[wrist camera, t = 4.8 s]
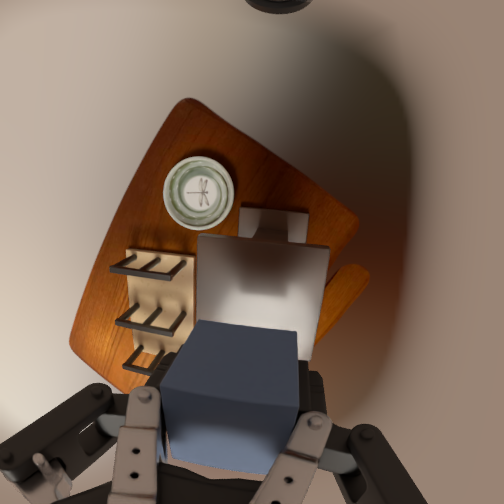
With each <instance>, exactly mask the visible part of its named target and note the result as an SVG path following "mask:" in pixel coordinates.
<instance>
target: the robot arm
mask: <svg viewBox="0 0 504 504" xmlns="http://www.w3.org/2000/svg"><path fill="white" fill-rule="evenodd" d="M265 1H268V2H276V3H280V2H289V1H292V0H265ZM183 345H184V344H182V345H181V346H180V348H179V350H178V351H177V353H176V352H169V353H168V354H166V355H165V356H163V358H162V359H161V361H160V362H159V364H158V365H157V367H156V369H155V370H154V371H153V373H152V374H151V376H150V377H149V379H148V380H147V382H146V384H145V385H144V386H139V387H136V388H134V389H133V390H132V391H131V392H130V394H113V393H112V390H111V388H110V387H109V386H108V385H106V384H103V383H93V384H91V385H88V386H87V387H85V388H84V389H82V390H81V391H79V392H78V393H76V394H75V395H73V396H72V397H70V398H69V399H67V400H66V401H65V402H63V403H61V404H60V405H58V406H57V407H55V408H54V409H53V410H51V411H50V412H48V413H47V414H45V415H44V416H42V417H41V418H39V419H38V420H36V421H35V422H33V423H32V424H30V425H28V426H27V427H26V428H24V429H23V430H21V431H19V432H18V433H17V434H15V435H13V436H12V437H10V438H9V439H7V440H6V441H4V442H3V443H1V444H0V471H1V472H2V473H3V475H4V477H5V478H6V479H7V480H8V481H9V482H10V483H11V485H12V486H13V487H14V488H15V489H16V490H17V491H18V492H19V493H21V494H22V495H23V496H24V497H25V498H26V499H27V500H28V501H29V502H30V503H31V504H302V502H303V500H304V498H305V495H306V493H307V491H308V488H309V486H310V484H311V481H312V479H313V477H314V474H315V472H316V469H317V468H318V469H322V470H326V471H330V472H333V475H334V477H335V479H336V482H337V484H338V486H339V488H340V490H341V493H342V495H343V497H344V499H345V502H346V504H428V503H427V502H426V500H425V499H424V498H423V496H422V494H421V492H420V491H419V489H418V488H417V486H416V485H415V483H414V482H413V480H412V479H411V477H410V476H409V474H408V472H407V471H406V469H405V468H404V466H403V465H402V463H401V462H400V460H399V459H398V457H397V456H396V454H395V452H394V451H393V449H392V448H391V446H390V445H389V443H388V442H387V440H386V439H385V437H384V436H383V435H382V433H381V431H380V430H379V429H378V428H377V427H375V426H373V425H370V424H360V425H357V426H355V427H354V428H353V429H352V430H350V429H346V428H342V427H339V426H337V425H335V424H333V423H332V421H331V419H330V418H329V417H328V416H327V410H326V402H325V394H324V387H323V379H322V377H321V376H320V374H319V373H318V372H317V371H309V369H308V360H298V371H299V410H298V413H297V417H296V421H295V425H294V429H293V432H292V434H291V436H290V438H289V440H288V442H287V444H286V446H285V447H284V449H282V450H281V451H280V452H279V454H278V456H277V458H276V460H275V461H274V463H273V465H272V467H271V468H270V470H269V472H268V474H267V475H266V477H265V479H264V480H263V481H255V480H246V479H239V478H238V479H208V478H206V477H204V476H201V475H199V474H197V473H194V472H192V471H190V470H188V469H185V468H181V467H178V466H173V465H170V464H168V458H167V429H166V423H165V417H164V411H163V405H162V398H161V391H160V383H161V382H162V380H163V378H164V377H165V375H166V373H167V372H168V370H169V368H170V366H171V365H172V363H173V361H174V360H175V358H176V356H177V355H178V353H179V351H180V350H181V348H182V346H183ZM92 422H93V423H92ZM91 423H92V424H91ZM89 424H91V425H90V426H89V427H88V428H86V427H87V426H88V425H89ZM84 428H86V429H85V430H84V431H82V430H83V429H84ZM81 431H82V432H81ZM80 432H81V433H80ZM79 433H80V434H79ZM116 442H117V447H116V454H115V462H114V471H113V479H112V481H110V482H107V483H105V484H102V485H100V486H97V487H94V488H92V489H89V490H86V491H84V492H81V493H78V494H76V495H72V496H70V491H71V489H72V480H74V479H75V478H76V477H77V476H78V475H80V474H81V473H82V472H83V471H84V470H85V469H87V468H88V467H89V466H90V465H91V464H92V463H94V462H95V461H96V460H97V459H98V458H99V457H101V456H102V455H103V454H104V453H105V452H106V451H107V450H109V448H111V447H112V446H113V445H114V444H115V443H116ZM68 496H69V497H68Z"/></svg>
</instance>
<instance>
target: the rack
mask: <svg viewBox="0 0 504 504" xmlns="http://www.w3.org/2000/svg"><path fill="white" fill-rule="evenodd" d="M195 264H196V256H192V255H183V254H174V253H166V252H157V251H148V250H139V249H131V248H129V249H127V250H126V258H125V259H123V260H122V261H120V262H118V263H116V264H115V265H112V266H110V267H109V268H110V272H111V273H117V274H124V275H127V279H128V293H129V305H130V308H129V309H128V310H127V311H126V312H125V313H124V314H123V315H121V316H120V317H119V318H117V319H116V320H115V325H117V326H122V327H126V328H130V329H132V333H133V340H134V348H135V351H134V352H133V353H132V355H131V356H130V357H129V358H128V360H127V361H126V362H125V363H123V365H122V367H123V369H125V370H129V371H133V372H136V373H140V374H144V375H148V376H151V374H152V373H153V371H154V370H155V368H156V367H157V365H158V364H159V362H160V361H161V359H162V358H163V356H165V355H166V354H168V353H169V352H176V353H177V351H178V350H179V348H180V346H181V345H182V344H184V343H185V341H186V340H187V338H188V336H189V335H190V333H191V331H192V330H193V328H194V326H195ZM125 266H127V267H125ZM130 316H131V321H128V320H127V319H128V318H129V317H130ZM141 352H146V353H150V354H154V355H157V356H156V357H155V358H154V360H153V361H152V363H151V364H150V366H149V367H148V368H143V367H139V366H136V365H132V363H133V362H134V361H135V360H136V358H137V357H138V356H139V354H140V353H141Z"/></svg>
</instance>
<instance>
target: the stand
mask: <svg viewBox="0 0 504 504" xmlns="http://www.w3.org/2000/svg"><path fill="white" fill-rule="evenodd" d="M308 221H309V213H305V212H296V211H286V210H276V209H265V208H254V207H243V206H241V207H240V211H239V225H238V237H236V236H226V235H215V234H205V233H201V234H200V235H198V239H197V279H196V323H197V321H198V320H199V319H201V320H208V321H214V322H221V323H229V324H236V325H244V326H252V327H261V328H270V329H279V330H289V331H296V332H297V342H298V360H308V361H311V356H312V351H313V347H314V342H315V337H316V332H317V327H318V321H319V316H320V311H321V305H322V300H323V294H324V288H325V282H326V276H327V269H328V263H329V256H330V248H329V246H324V245H315V244H306V239H307V230H308Z"/></svg>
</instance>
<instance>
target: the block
mask: <svg viewBox="0 0 504 504" xmlns="http://www.w3.org/2000/svg"><path fill="white" fill-rule="evenodd" d="M160 391H161V398H162V405H163V411H164V417H165V423H166V429H167V434H168V439H169V444H170V449H171V454H172V458H174V459H178V460H182V461H186V462H190V463H195V464H200V465H204V466H210V467H215V468H220V469H227V470H232V471H239V472H247V473H255V474H266V475H267V474H268V472H269V470H270V468H271V467H272V465H273V463H274V461H275V460H276V458H277V456H278V454H279V452H280V451H281V450H282V449H284V447H285V446H286V444H287V442H288V440H289V438H290V436H291V434H292V432H293V429H294V425H295V421H296V417H297V413H298V410H299V371H298V342H297V332H296V331H289V330H279V329H270V328H261V327H252V326H244V325H236V324H229V323H221V322H214V321H208V320H201V319H199V320H198V321H197V323H196V325H195V326H194V328H193V330H192V331H191V333H190V335H189V336H188V338H187V340H186V341H185V343H184V345H183V346H182V348H181V350H180V351H179V353H178V355H177V356H176V358H175V360H174V361H173V363H172V365H171V366H170V368H169V370H168V372H167V373H166V375H165V377H164V378H163V380H162V382H161V383H160Z"/></svg>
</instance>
